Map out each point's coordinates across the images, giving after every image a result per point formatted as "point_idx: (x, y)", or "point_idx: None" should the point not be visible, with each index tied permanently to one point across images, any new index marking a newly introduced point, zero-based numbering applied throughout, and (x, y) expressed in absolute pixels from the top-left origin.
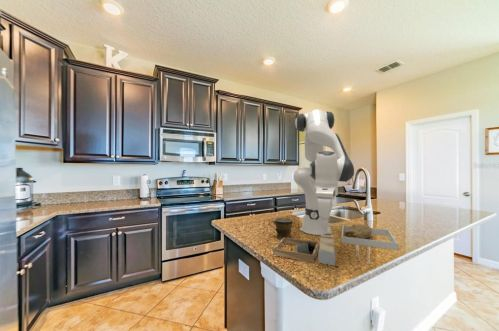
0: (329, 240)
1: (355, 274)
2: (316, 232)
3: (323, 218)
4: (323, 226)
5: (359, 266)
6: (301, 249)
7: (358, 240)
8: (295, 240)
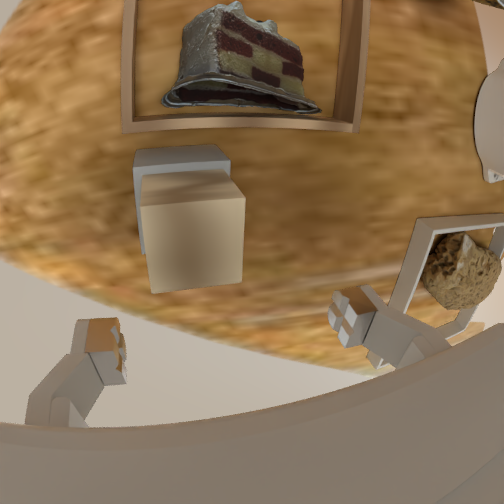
0: (148, 268)
1: (111, 297)
2: (483, 123)
3: (36, 411)
4: (78, 325)
5: (191, 301)
6: (194, 43)
7: (409, 281)
8: (359, 2)
